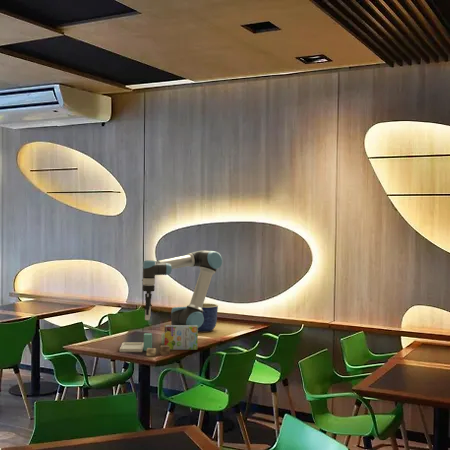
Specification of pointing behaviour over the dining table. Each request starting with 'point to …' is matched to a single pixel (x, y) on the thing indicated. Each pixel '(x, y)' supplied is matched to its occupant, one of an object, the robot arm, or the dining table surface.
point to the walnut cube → (164, 350)
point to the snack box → (181, 337)
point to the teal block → (147, 341)
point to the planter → (209, 317)
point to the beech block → (151, 351)
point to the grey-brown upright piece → (162, 338)
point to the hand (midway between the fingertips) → (147, 318)
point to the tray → (132, 347)
